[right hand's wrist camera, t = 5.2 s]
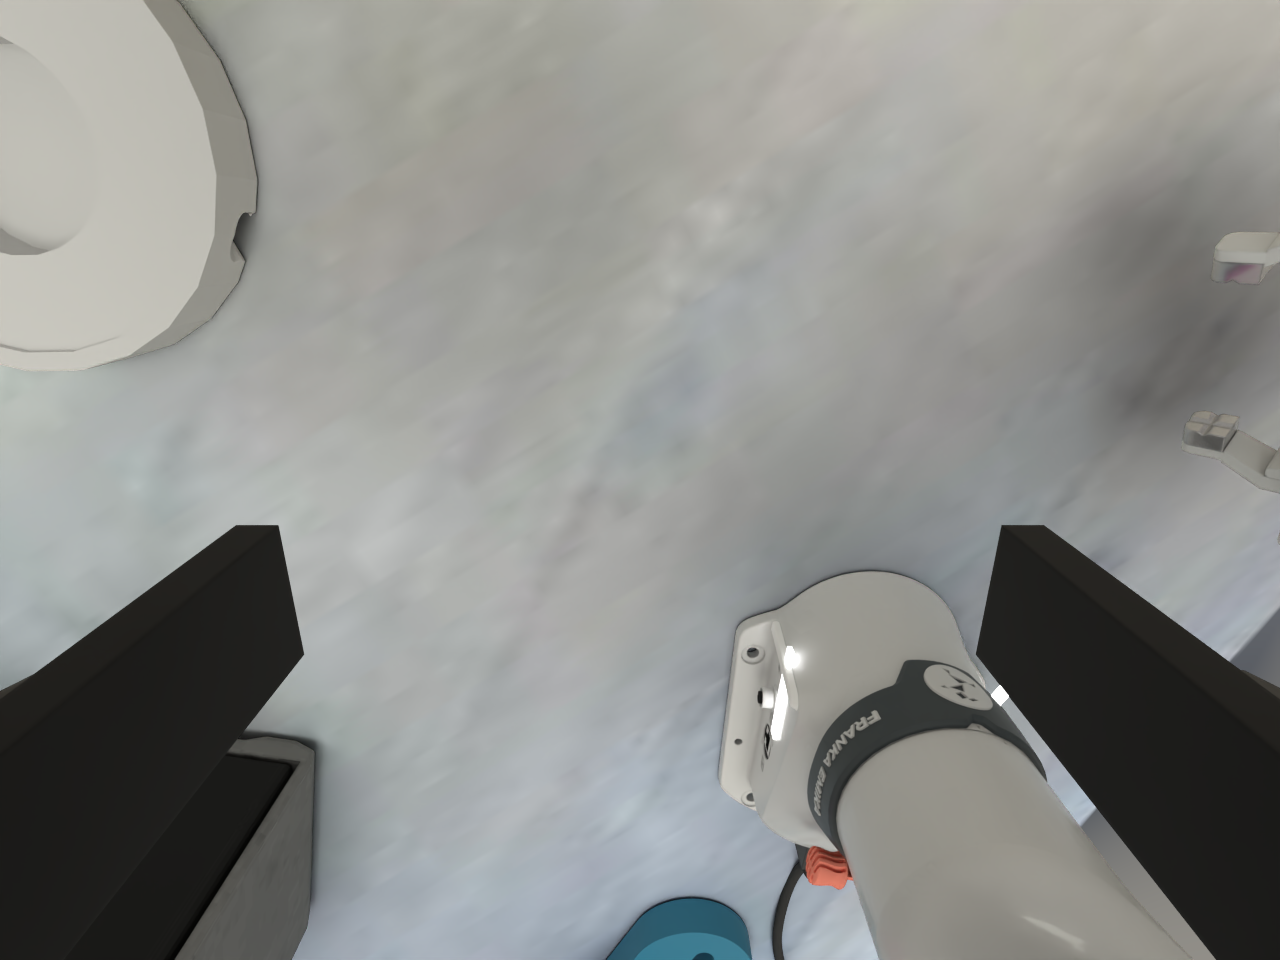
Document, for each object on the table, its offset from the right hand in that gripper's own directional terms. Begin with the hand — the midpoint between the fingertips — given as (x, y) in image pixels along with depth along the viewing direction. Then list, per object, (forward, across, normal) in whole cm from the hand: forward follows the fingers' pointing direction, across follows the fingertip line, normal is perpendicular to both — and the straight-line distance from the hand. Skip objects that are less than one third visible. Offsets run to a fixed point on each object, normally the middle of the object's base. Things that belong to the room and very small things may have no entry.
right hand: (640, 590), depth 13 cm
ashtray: (+31, -33, +10) cm, 47 cm away
